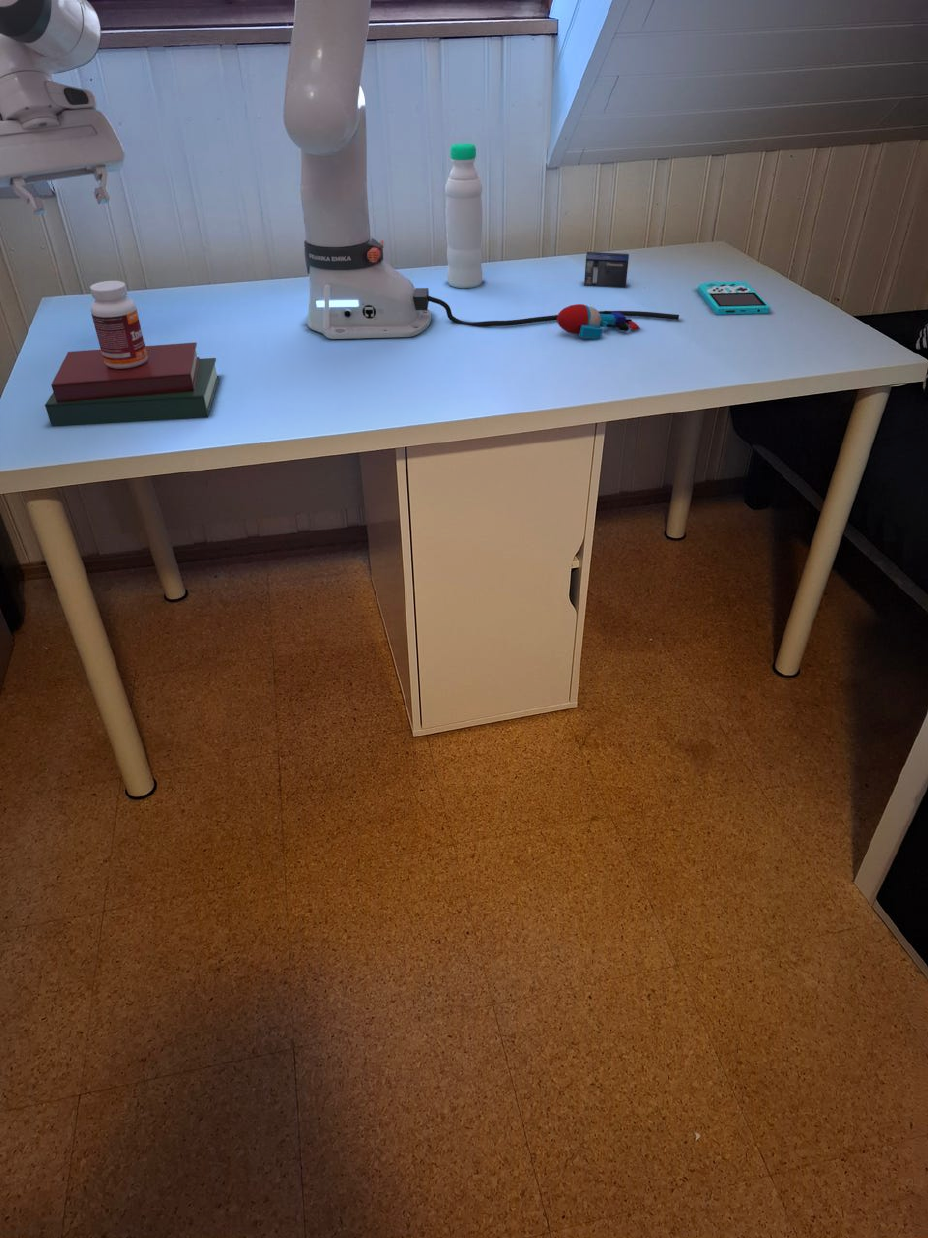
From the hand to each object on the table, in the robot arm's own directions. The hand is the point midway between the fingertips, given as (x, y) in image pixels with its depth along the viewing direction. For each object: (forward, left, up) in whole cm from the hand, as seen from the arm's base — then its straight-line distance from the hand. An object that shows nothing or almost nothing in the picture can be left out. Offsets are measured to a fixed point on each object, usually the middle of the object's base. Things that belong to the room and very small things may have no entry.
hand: (72, 207), depth 126 cm
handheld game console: (-102, -47, -25) cm, 114 cm away
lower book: (-10, +11, -24) cm, 29 cm away
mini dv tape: (-78, -54, -25) cm, 97 cm away
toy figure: (-77, -27, -25) cm, 85 cm away
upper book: (-9, +11, -21) cm, 26 cm away
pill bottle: (-9, +11, -19) cm, 24 cm away
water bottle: (-50, -52, -25) cm, 76 cm away
